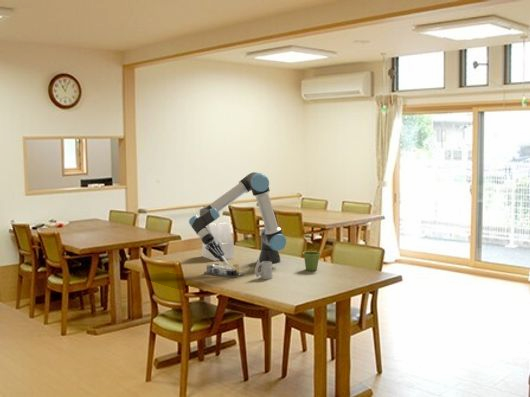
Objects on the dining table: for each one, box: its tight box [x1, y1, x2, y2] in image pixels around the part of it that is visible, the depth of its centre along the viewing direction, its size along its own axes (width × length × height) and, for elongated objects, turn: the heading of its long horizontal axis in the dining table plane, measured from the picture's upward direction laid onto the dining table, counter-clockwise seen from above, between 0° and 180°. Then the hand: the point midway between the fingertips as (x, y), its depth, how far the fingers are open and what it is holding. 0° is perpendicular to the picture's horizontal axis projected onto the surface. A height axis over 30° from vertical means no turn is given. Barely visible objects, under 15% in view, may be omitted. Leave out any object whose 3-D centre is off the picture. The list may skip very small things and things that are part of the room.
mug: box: [254, 259, 274, 280], centre depth 375 cm, size 8×12×12 cm, turn 116°
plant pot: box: [302, 250, 322, 272], centre depth 399 cm, size 12×12×11 cm
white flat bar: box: [210, 263, 235, 271], centre depth 387 cm, size 18×5×2 cm, turn 57°
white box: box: [201, 221, 235, 262], centre depth 439 cm, size 19×15×25 cm
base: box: [203, 263, 245, 279], centre depth 386 cm, size 24×10×7 cm, turn 57°
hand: (226, 264), depth 385 cm, fingers closed
